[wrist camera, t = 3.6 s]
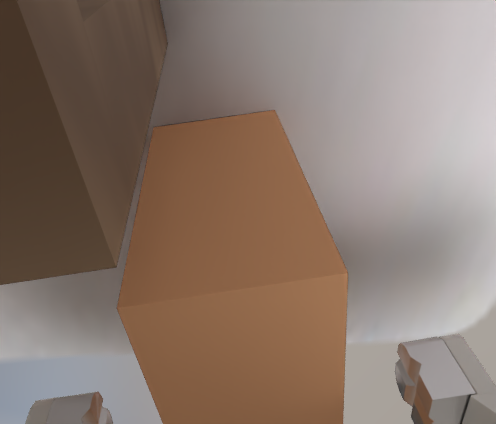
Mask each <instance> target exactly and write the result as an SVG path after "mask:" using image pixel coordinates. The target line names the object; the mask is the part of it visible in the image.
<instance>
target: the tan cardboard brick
mask: <svg viewBox="0 0 496 424" xmlns="http://www.w3.org/2000/svg"><path fill="white" fill-rule="evenodd" d="M347 289H348V272H347V269H346V267H345V265H344V263H343V260H342V258H341V256H340V254H339V252H338V249H337V247H336V245H335V243H334V240H333V238H332V236H331V234H330V232H329V229H328V227H327V225H326V223H325V220H324V218H323V216H322V214H321V212H320V209H319V207H318V205H317V203H316V200H315V198H314V196H313V194H312V192H311V189H310V187H309V185H308V183H307V180H306V178H305V176H304V174H303V172H302V169H301V167H300V165H299V163H298V160H297V158H296V156H295V154H294V152H293V149H292V147H291V145H290V143H289V140H288V138H287V136H286V134H285V132H284V129H283V127H282V125H281V123H280V120H279V118H278V116H277V114H276V112H275V110H271V111H264V112H257V113H250V114H243V115H236V116H229V117H222V118H215V119H208V120H201V121H194V122H187V123H180V124H173V125H166V126H159V127H154V128H153V133H152V138H151V143H150V148H149V152H148V157H147V162H146V167H145V172H144V177H143V182H142V187H141V192H140V197H139V202H138V206H137V211H136V216H135V221H134V226H133V231H132V236H131V241H130V246H129V251H128V256H127V261H126V265H125V270H124V275H123V280H122V285H121V290H120V295H119V300H118V305H117V310H118V313H119V315H120V318H121V320H122V323H123V325H124V328H125V330H126V333H127V335H128V338H129V340H130V343H131V345H132V348H133V350H134V353H135V355H136V358H137V360H138V362H139V365H140V367H141V370H142V372H143V375H144V378H145V380H146V383H147V385H148V387H149V390H150V392H151V395H152V397H153V400H154V402H155V405H156V407H157V410H158V412H159V415H160V417H161V420H162V422H163V424H343V409H344V379H345V377H344V375H345V349H346V319H347Z"/></svg>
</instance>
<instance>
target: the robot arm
mask: <svg viewBox="0 0 496 424" xmlns="http://www.w3.org/2000/svg"><path fill="white" fill-rule="evenodd" d="M397 353H398V355H399V357H400V359H399V360H398V361H397V362H396V366H395V374H396V381H397V385H398V388H399V391H400V393H401V396H402V398H403V400H404V401H406V402H407V403H408V404H410V405H411V406H412V407H413V408H412V414H411V418H412V420H413V422H414V424H496V385H495V384H494V382H493V381H492V379H491V378H490V376H489V375H488V373H487V372H486V370H485V369H484V367H483V366H482V364H481V363H480V361H479V360H478V359H477V357H476V355H475V354H474V352H473V351H472V350H471V348H470V347H469V345H468V344H467V342H466V341H465V339H464V338H463V337H462V336H461V335H460V334H452V335H447V336H441V337H431V338H426V339H420V340H414V341H409V342H403V343H400V344H399V345H398V351H397ZM102 402H103V398H102V396H101V395H100V393H99V392H92V393H86V394H79V395H72V396H65V397H57V398H50V399H44V400H38V401H35V403H34V404H33V405H32V407H31V408H30V411H29V415H28V417H27V420H26V423H25V424H113V421H112V417H111V414H110V412H109V410H108V409H107V408H104V407H102Z"/></svg>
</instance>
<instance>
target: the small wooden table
mask: <svg viewBox="0 0 496 424" xmlns="http://www.w3.org/2000/svg"><path fill="white" fill-rule="evenodd" d="M167 44H168V42H167V37H166V32H165V27H164V22H163V17H162V12H161V7H160V2H159V0H0V285H3V284H10V283H16V282H23V281H30V280H36V279H43V278H49V277H56V276H63V275H69V274H76V273H82V272H89V271H96V270H102V269H109V268H115V267H117V262H118V258H119V254H120V249H121V245H122V241H123V236H124V232H125V227H126V223H127V219H128V214H129V210H130V206H131V201H132V197H133V193H134V188H135V184H136V180H137V175H138V171H139V166H140V162H141V158H142V153H143V149H144V145H145V140H146V136H147V132H148V127H149V123H150V119H151V114H152V110H153V105H154V101H155V97H156V92H157V88H158V84H159V79H160V75H161V71H162V66H163V62H164V58H165V53H166V49H167Z"/></svg>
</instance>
